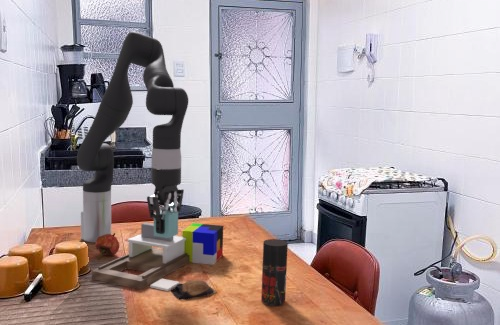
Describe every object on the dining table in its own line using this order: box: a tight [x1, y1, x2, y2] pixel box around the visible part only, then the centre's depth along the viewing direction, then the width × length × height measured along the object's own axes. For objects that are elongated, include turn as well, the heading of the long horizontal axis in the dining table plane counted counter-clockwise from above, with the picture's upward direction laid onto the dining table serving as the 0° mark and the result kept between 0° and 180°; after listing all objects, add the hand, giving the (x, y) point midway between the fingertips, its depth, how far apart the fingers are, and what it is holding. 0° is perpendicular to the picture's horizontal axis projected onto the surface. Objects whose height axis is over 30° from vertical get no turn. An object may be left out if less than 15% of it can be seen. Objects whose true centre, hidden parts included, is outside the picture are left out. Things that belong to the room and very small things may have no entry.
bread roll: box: [169, 279, 218, 301], centre depth 123 cm, size 11×8×4 cm
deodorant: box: [260, 238, 289, 307], centre depth 118 cm, size 6×6×15 cm
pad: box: [149, 278, 180, 292], centre depth 126 cm, size 6×6×1 cm
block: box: [153, 210, 179, 238], centre depth 124 cm, size 4×4×6 cm
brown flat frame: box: [91, 247, 190, 290], centre depth 138 cm, size 16×25×3 cm, turn 157°
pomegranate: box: [95, 232, 120, 260], centre depth 148 cm, size 7×7×10 cm
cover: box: [127, 222, 186, 264], centre depth 143 cm, size 14×10×9 cm
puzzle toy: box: [181, 222, 224, 266], centre depth 149 cm, size 10×10×10 cm
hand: (165, 230), depth 125 cm, fingers closed on block, 4 cm apart
